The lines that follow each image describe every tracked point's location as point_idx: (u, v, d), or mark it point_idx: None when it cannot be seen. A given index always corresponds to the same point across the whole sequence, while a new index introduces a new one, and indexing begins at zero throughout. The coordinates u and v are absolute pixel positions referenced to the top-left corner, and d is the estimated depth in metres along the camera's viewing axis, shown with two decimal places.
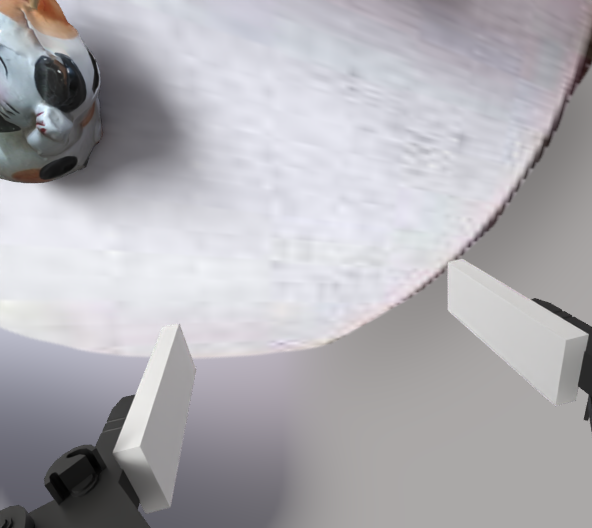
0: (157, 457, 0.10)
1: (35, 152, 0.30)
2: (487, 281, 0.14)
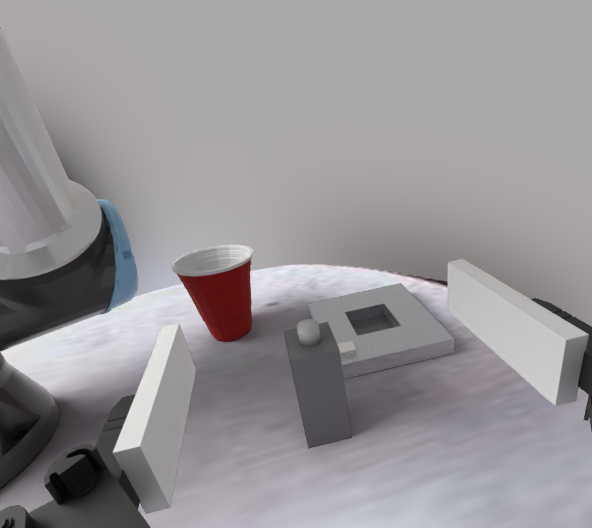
0: (157, 457, 0.10)
1: None
2: (487, 281, 0.14)
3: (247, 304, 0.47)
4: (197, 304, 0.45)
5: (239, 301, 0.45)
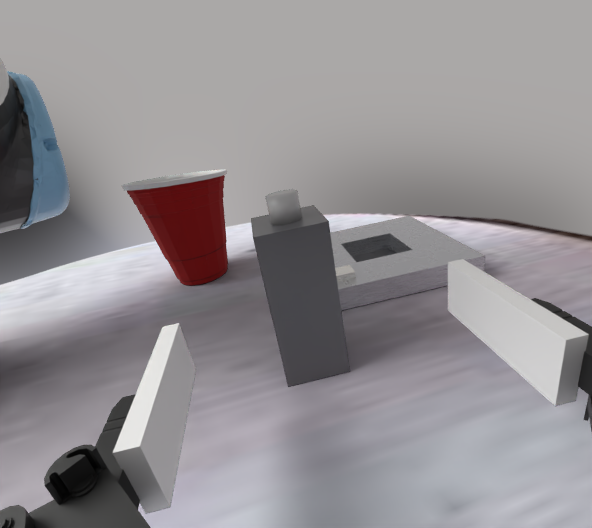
0: (157, 457, 0.10)
1: None
2: (487, 281, 0.14)
3: (219, 237, 0.38)
4: (155, 234, 0.36)
5: (208, 230, 0.36)
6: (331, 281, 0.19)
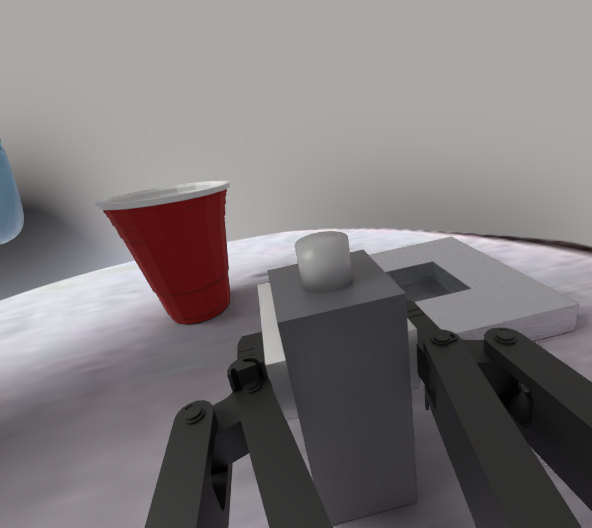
0: None
1: None
2: None
3: (220, 265, 0.30)
4: (140, 263, 0.29)
5: (206, 258, 0.29)
6: (401, 383, 0.12)
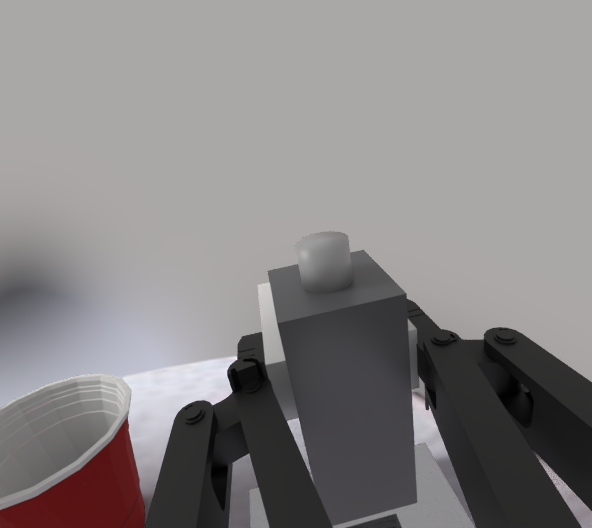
0: None
1: None
2: None
3: (119, 513, 0.23)
4: None
5: (92, 523, 0.22)
6: (402, 384, 0.12)
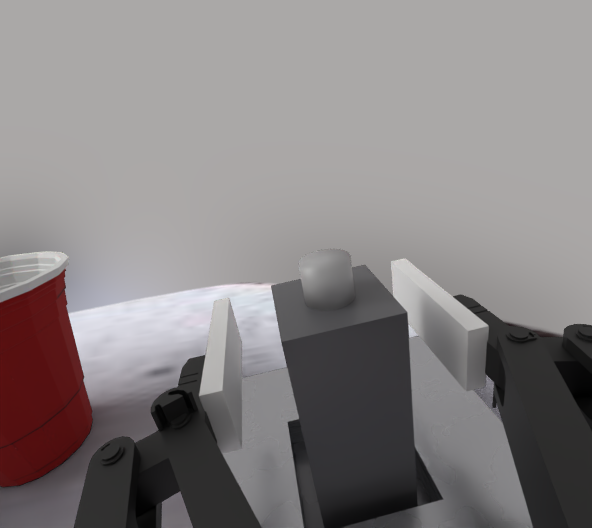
0: (231, 404, 0.12)
1: None
2: (419, 279, 0.15)
3: (49, 399, 0.19)
4: None
5: (9, 400, 0.17)
6: (403, 398, 0.12)
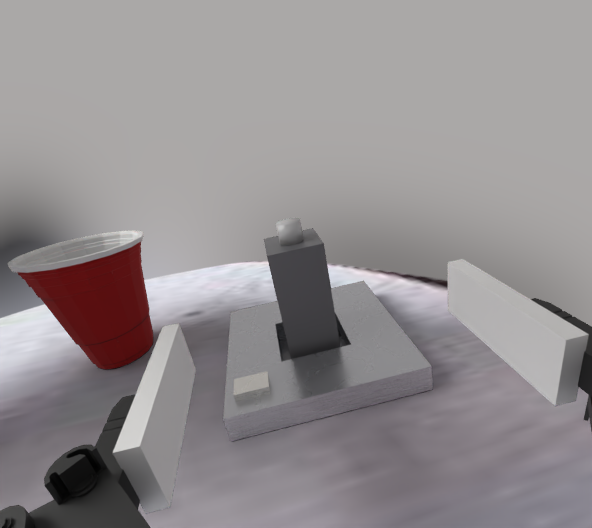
0: (157, 457, 0.10)
1: None
2: (487, 281, 0.14)
3: (135, 314, 0.32)
4: None
5: (117, 310, 0.31)
6: (326, 288, 0.25)
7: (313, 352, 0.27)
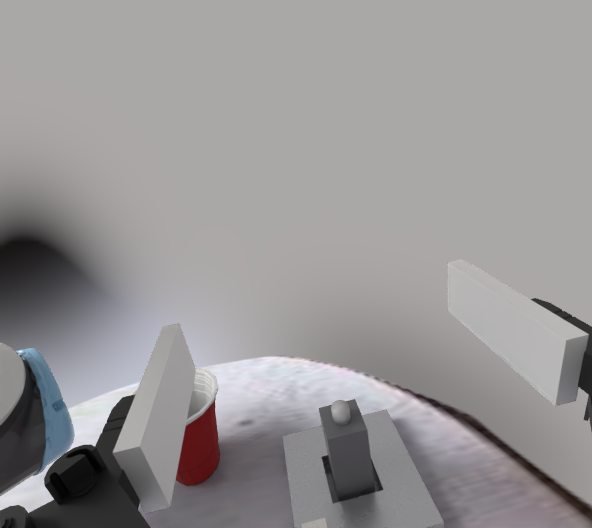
0: (157, 457, 0.10)
1: None
2: (487, 281, 0.14)
3: (211, 445, 0.42)
4: None
5: (201, 447, 0.40)
6: (367, 454, 0.35)
7: (355, 493, 0.36)
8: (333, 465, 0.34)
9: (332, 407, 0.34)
